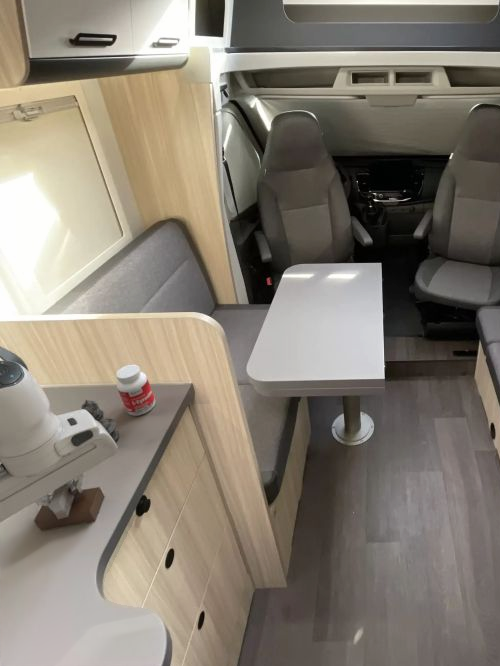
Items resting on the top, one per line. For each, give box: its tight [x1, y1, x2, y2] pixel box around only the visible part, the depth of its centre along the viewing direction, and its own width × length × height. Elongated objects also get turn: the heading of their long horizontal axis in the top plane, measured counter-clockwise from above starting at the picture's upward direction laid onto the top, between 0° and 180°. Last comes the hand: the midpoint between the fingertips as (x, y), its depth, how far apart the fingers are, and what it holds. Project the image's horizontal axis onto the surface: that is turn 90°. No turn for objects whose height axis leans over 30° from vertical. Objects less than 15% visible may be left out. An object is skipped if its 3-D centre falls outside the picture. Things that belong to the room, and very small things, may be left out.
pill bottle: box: [115, 364, 156, 417], centre depth 101 cm, size 6×6×11 cm
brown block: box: [33, 486, 106, 532], centre depth 81 cm, size 9×5×3 cm, turn 101°
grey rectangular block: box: [49, 480, 74, 519], centre depth 79 cm, size 6×2×4 cm, turn 19°
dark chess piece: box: [80, 399, 120, 444], centre depth 93 cm, size 6×6×12 cm
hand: (66, 498), depth 80 cm, fingers closed on grey rectangular block, 2 cm apart
